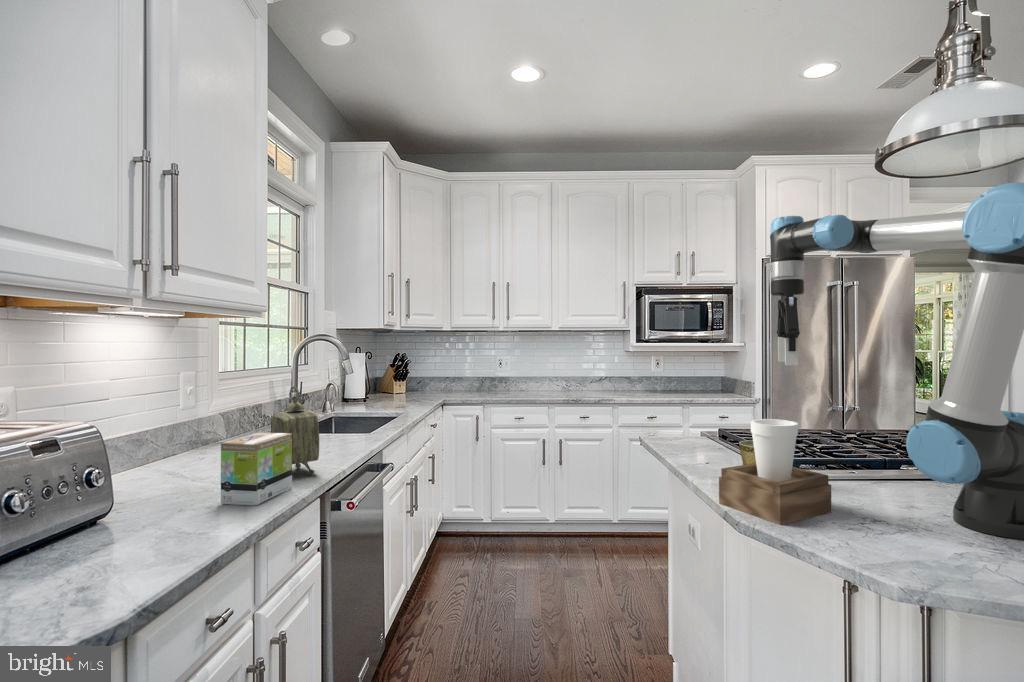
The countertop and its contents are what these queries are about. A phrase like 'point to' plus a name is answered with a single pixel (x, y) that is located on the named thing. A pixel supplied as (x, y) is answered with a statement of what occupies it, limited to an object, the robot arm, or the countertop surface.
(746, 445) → the ceramic cup
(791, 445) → the foam cup
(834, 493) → the countertop surface
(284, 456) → the tea box
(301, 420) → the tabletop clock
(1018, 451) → the robot arm
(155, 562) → the countertop surface
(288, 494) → the countertop surface
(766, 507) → the wooden box
